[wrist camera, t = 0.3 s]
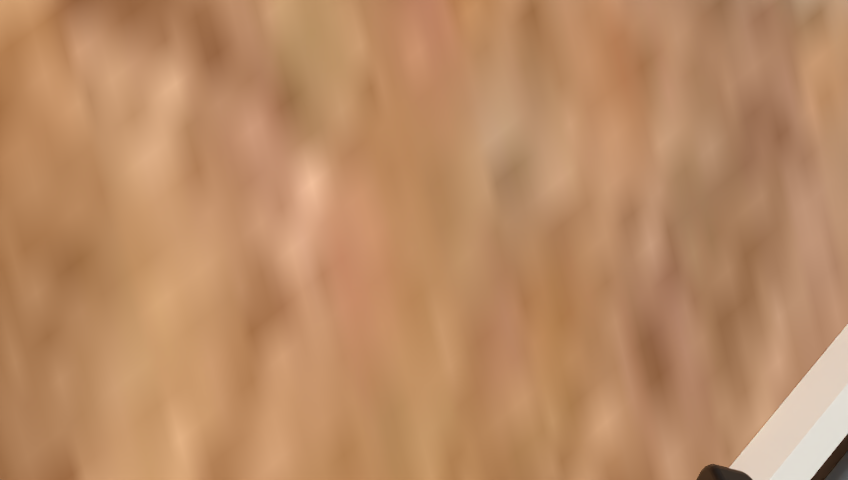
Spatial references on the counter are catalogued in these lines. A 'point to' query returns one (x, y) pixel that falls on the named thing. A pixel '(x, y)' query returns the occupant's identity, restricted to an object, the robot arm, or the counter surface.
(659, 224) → the counter surface
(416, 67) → the counter surface
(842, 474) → the slate block
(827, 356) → the tray
